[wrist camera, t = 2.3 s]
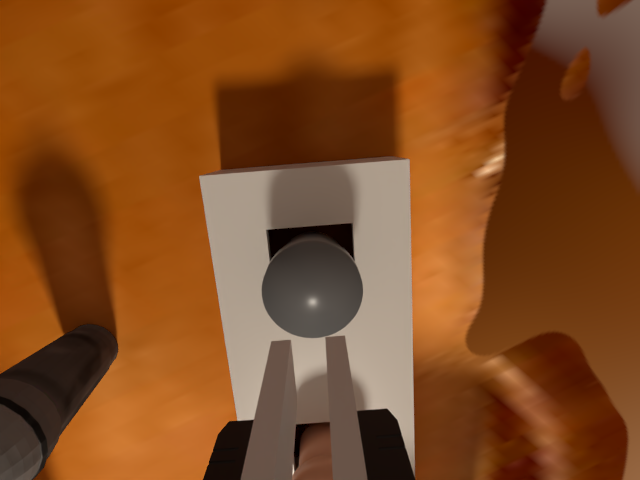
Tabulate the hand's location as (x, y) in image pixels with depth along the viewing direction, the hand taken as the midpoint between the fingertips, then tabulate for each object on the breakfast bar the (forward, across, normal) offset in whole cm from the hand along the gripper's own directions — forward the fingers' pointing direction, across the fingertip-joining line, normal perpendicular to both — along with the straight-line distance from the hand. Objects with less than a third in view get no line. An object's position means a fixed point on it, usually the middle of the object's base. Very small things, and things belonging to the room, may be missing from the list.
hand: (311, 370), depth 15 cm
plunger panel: (+18, 0, -8) cm, 20 cm away
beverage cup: (+19, -21, -8) cm, 29 cm away
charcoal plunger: (+13, 0, 0) cm, 13 cm away
